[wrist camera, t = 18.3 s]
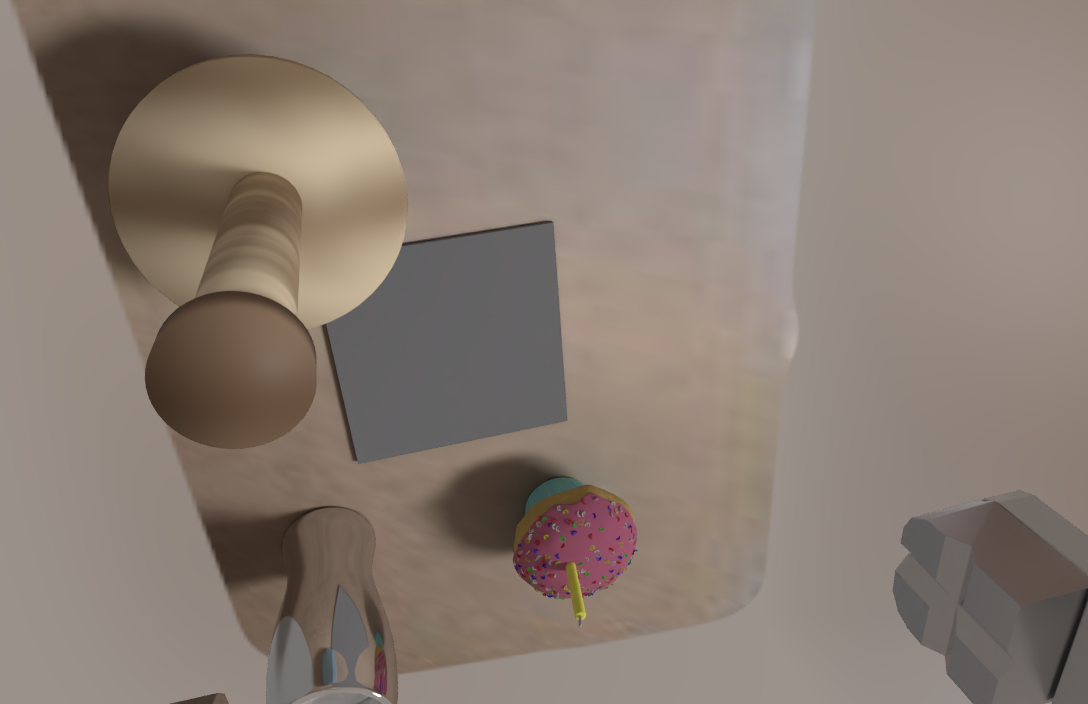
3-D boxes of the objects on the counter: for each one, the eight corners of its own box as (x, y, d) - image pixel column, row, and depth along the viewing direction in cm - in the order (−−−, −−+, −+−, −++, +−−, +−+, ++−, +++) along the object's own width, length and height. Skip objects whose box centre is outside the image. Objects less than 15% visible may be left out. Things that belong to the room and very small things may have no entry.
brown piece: (69, 72, 33) (-151, 183, 17) (381, 39, 35) (435, 110, 20) (163, 346, 39) (63, 609, 23) (423, 302, 41) (488, 513, 26)
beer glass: (277, 587, 53) (265, 791, 40) (273, 504, 50) (258, 695, 37) (381, 577, 55) (401, 769, 42) (383, 497, 52) (405, 677, 39)
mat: (311, 258, 44) (311, 260, 44) (552, 221, 47) (553, 222, 46) (357, 461, 50) (358, 464, 50) (566, 418, 53) (567, 420, 53)
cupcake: (489, 548, 57) (528, 682, 46) (514, 449, 53) (562, 569, 43) (598, 549, 59) (657, 676, 49) (628, 456, 56) (699, 570, 46)
